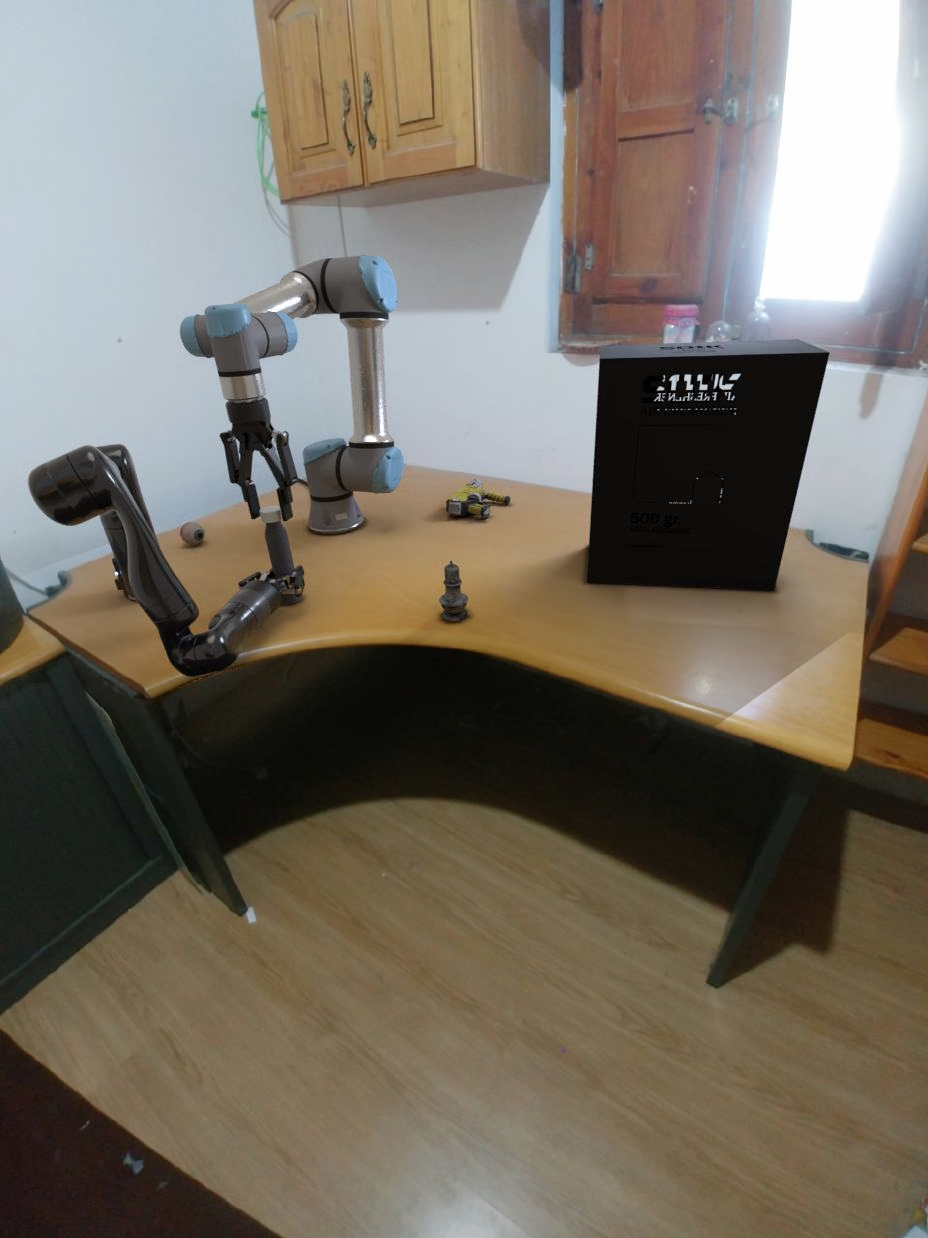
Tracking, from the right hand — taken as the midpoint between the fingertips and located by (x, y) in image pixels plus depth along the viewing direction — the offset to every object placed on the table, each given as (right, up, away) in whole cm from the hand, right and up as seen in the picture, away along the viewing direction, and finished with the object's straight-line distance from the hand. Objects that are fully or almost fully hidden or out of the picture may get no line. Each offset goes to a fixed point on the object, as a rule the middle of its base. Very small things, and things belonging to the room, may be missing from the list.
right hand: (272, 517), depth 122 cm
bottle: (+1, -16, +9) cm, 19 cm away
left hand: (+1, -10, +9) cm, 13 cm away
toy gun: (+44, +13, +55) cm, 72 cm away
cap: (0, +1, -1) cm, 2 cm away
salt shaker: (+37, -20, 0) cm, 42 cm away
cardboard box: (+86, -9, +14) cm, 88 cm away
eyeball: (-33, 0, +40) cm, 53 cm away
